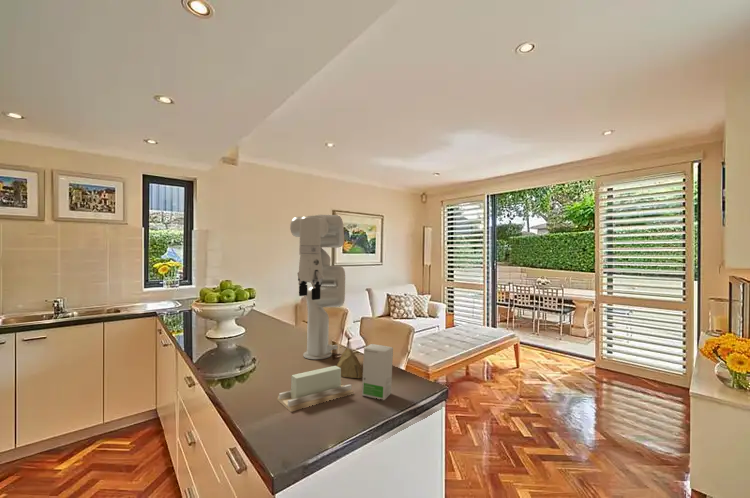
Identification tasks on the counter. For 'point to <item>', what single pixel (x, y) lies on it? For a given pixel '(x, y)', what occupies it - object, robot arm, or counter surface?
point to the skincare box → (377, 371)
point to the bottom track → (313, 397)
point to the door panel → (315, 381)
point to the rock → (349, 365)
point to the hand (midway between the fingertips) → (309, 297)
